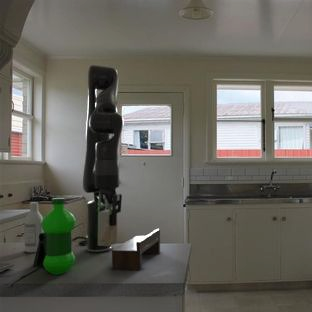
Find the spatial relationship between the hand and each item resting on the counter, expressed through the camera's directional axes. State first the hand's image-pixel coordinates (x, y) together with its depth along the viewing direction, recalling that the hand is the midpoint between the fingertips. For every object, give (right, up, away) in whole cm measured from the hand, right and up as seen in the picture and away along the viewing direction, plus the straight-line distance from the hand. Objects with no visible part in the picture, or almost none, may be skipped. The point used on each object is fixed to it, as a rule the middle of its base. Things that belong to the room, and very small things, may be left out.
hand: (107, 224), depth 120 cm
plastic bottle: (-18, -17, +4) cm, 25 cm away
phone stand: (-25, -17, +12) cm, 33 cm away
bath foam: (-41, -17, +32) cm, 55 cm away
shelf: (+6, -17, +17) cm, 24 cm away
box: (0, -7, 0) cm, 7 cm away
